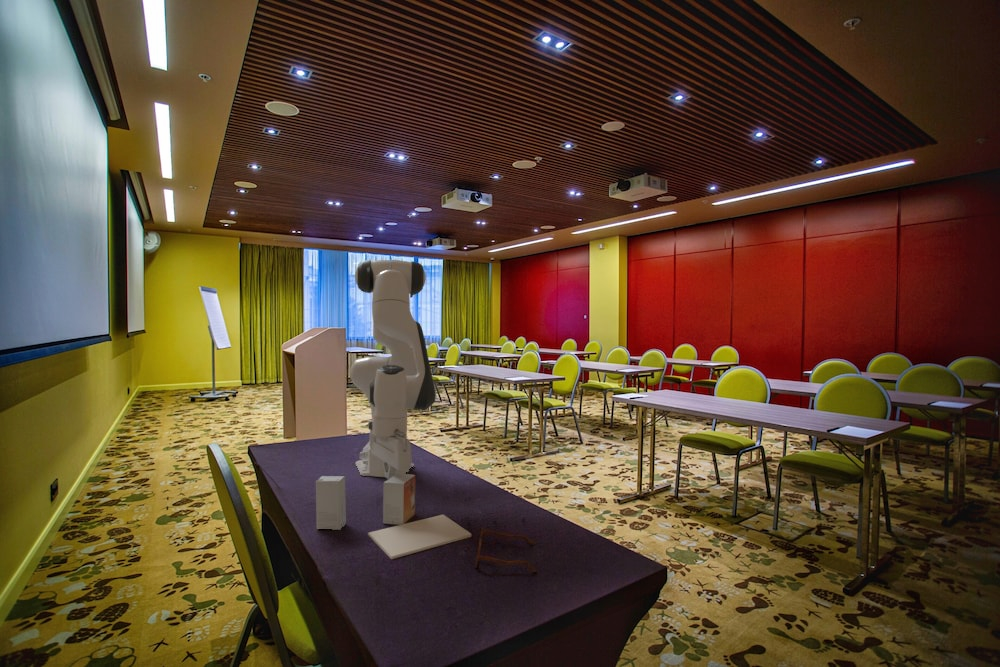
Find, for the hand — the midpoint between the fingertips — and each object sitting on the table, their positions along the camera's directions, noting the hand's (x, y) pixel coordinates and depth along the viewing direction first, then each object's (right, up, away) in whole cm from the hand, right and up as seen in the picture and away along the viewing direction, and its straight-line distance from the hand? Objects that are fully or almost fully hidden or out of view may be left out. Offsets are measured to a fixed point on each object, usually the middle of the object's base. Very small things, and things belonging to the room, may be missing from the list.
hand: (389, 478), depth 127 cm
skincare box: (-12, -9, -11) cm, 18 cm away
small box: (+4, -9, -5) cm, 11 cm away
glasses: (+31, -10, -24) cm, 41 cm away
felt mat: (+11, -9, -15) cm, 20 cm away
